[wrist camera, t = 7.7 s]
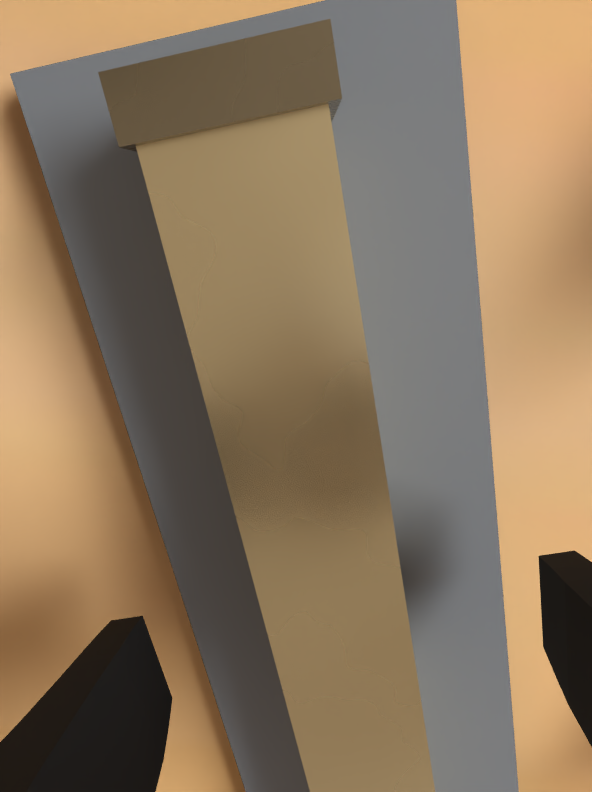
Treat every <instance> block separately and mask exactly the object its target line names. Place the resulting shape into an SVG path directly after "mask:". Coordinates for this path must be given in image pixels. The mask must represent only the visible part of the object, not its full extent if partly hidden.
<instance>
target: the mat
mask: <svg viewBox="0 0 592 792" xmlns="http://www.w3.org/2000/svg"><path fill="white" fill-rule="evenodd" d="M327 19H331V26H332V33H333V39H334V46H335V53H336V60H337V66H338V73H339V80H340V87H341V94H342V100H341V102H340V105H339V107H338V109H337V111H336V114H335V116H334V118H333V121H332V129H333V136H334V142H335V148H336V155H337V161H338V168H339V174H340V181H341V187H342V194H343V200H344V206H345V213H346V219H347V226H348V232H349V239H350V245H351V252H352V258H353V264H354V271H355V277H356V284H357V290H358V297H359V303H360V310H361V316H362V322H363V329H364V335H365V342H366V348H367V355H368V361H369V368H370V374H371V380H372V387H373V393H374V400H375V406H376V413H377V419H378V426H379V432H380V438H381V445H382V451H383V458H384V464H385V471H386V477H387V484H388V490H389V497H390V503H391V509H392V516H393V522H394V529H395V535H396V542H397V548H398V555H399V561H400V567H401V574H402V580H403V587H404V593H405V600H406V606H407V613H408V619H409V625H410V632H411V638H412V645H413V651H414V658H415V664H416V671H417V677H418V683H419V690H420V696H421V703H422V709H423V716H424V722H425V729H426V735H427V741H428V748H429V754H430V761H431V767H432V774H433V780H434V787H435V792H519V791H518V778H517V766H516V753H515V740H514V728H513V715H512V702H511V690H510V677H509V664H508V651H507V639H506V626H505V613H504V601H503V588H502V575H501V563H500V550H499V537H498V525H497V512H496V499H495V487H494V474H493V461H492V449H491V436H490V423H489V411H488V398H487V385H486V373H485V360H484V347H483V335H482V322H481V309H480V297H479V284H478V271H477V259H476V246H475V233H474V221H473V208H472V195H471V183H470V170H469V157H468V145H467V132H466V119H465V107H464V94H463V81H462V69H461V56H460V43H459V31H458V18H457V5H456V0H325V1H321V2H316V3H312V4H308V5H304V6H299V7H295V8H291V9H286V10H282V11H278V12H273V13H269V14H265V15H261V16H256V17H252V18H248V19H243V20H239V21H235V22H231V23H226V24H222V25H218V26H213V27H209V28H205V29H201V30H196V31H192V32H188V33H183V34H179V35H175V36H170V37H166V38H162V39H158V40H153V41H149V42H145V43H140V44H136V45H132V46H128V47H123V48H119V49H115V50H110V51H106V52H102V53H98V54H93V55H89V56H85V57H80V58H76V59H72V60H67V61H63V62H59V63H55V64H50V65H46V66H42V67H37V68H33V69H29V70H25V71H20V72H16V73H12V74H10V75H11V78H12V81H13V84H14V87H15V90H16V93H17V96H18V99H19V103H20V106H21V109H22V112H23V115H24V118H25V121H26V124H27V127H28V130H29V133H30V136H31V139H32V142H33V145H34V148H35V151H36V154H37V157H38V160H39V163H40V166H41V170H42V173H43V176H44V179H45V182H46V185H47V188H48V191H49V194H50V197H51V200H52V203H53V206H54V209H55V212H56V215H57V218H58V221H59V224H60V227H61V230H62V233H63V237H64V240H65V243H66V246H67V249H68V252H69V255H70V258H71V261H72V264H73V267H74V270H75V273H76V276H77V279H78V282H79V285H80V288H81V291H82V294H83V297H84V300H85V303H86V307H87V310H88V313H89V316H90V319H91V322H92V325H93V328H94V331H95V334H96V337H97V340H98V343H99V346H100V349H101V352H102V355H103V358H104V361H105V364H106V367H107V370H108V374H109V377H110V380H111V383H112V386H113V389H114V392H115V395H116V398H117V401H118V404H119V407H120V410H121V413H122V416H123V419H124V422H125V425H126V428H127V431H128V434H129V437H130V441H131V444H132V447H133V450H134V453H135V456H136V459H137V462H138V465H139V468H140V471H141V474H142V477H143V480H144V483H145V486H146V489H147V492H148V495H149V498H150V501H151V504H152V508H153V511H154V514H155V517H156V520H157V523H158V526H159V529H160V532H161V535H162V538H163V541H164V544H165V547H166V550H167V553H168V556H169V559H170V562H171V565H172V568H173V571H174V574H175V578H176V581H177V584H178V587H179V590H180V593H181V596H182V599H183V602H184V605H185V608H186V611H187V614H188V617H189V620H190V623H191V626H192V629H193V632H194V635H195V638H196V641H197V645H198V648H199V651H200V654H201V657H202V660H203V663H204V666H205V669H206V672H207V675H208V678H209V681H210V684H211V687H212V690H213V693H214V696H215V699H216V702H217V705H218V708H219V712H220V715H221V718H222V721H223V724H224V727H225V730H226V733H227V736H228V739H229V742H230V745H231V748H232V751H233V754H234V757H235V760H236V763H237V766H238V769H239V772H240V775H241V779H242V782H243V785H244V788H245V791H246V792H310V790H309V786H308V783H307V779H306V775H305V771H304V768H303V764H302V760H301V757H300V753H299V749H298V745H297V742H296V738H295V734H294V731H293V727H292V723H291V720H290V716H289V712H288V708H287V705H286V701H285V697H284V694H283V690H282V686H281V682H280V679H279V675H278V671H277V668H276V664H275V660H274V657H273V653H272V649H271V645H270V642H269V638H268V634H267V631H266V627H265V623H264V619H263V616H262V612H261V608H260V605H259V601H258V597H257V594H256V590H255V586H254V582H253V579H252V575H251V571H250V568H249V564H248V560H247V556H246V553H245V549H244V545H243V542H242V538H241V534H240V531H239V527H238V523H237V519H236V516H235V512H234V508H233V505H232V501H231V497H230V493H229V490H228V486H227V482H226V479H225V475H224V471H223V468H222V464H221V460H220V456H219V453H218V449H217V445H216V442H215V438H214V434H213V430H212V427H211V423H210V419H209V416H208V412H207V408H206V404H205V401H204V397H203V393H202V390H201V386H200V382H199V379H198V375H197V371H196V367H195V364H194V360H193V356H192V353H191V349H190V345H189V341H188V338H187V334H186V330H185V327H184V323H183V319H182V316H181V312H180V308H179V304H178V301H177V297H176V293H175V290H174V286H173V282H172V278H171V275H170V271H169V267H168V264H167V260H166V256H165V253H164V249H163V245H162V241H161V238H160V234H159V230H158V227H157V223H156V219H155V215H154V212H153V208H152V204H151V201H150V197H149V193H148V190H147V186H146V182H145V178H144V175H143V171H142V167H141V164H140V160H139V156H138V152H135V151H131V150H127V149H124V148H120V147H119V146H118V142H117V138H116V135H115V131H114V128H113V124H112V121H111V117H110V113H109V110H108V106H107V103H106V99H105V95H104V92H103V88H102V85H101V81H100V78H99V74H98V72H101V71H105V70H110V69H114V68H118V67H123V66H127V65H131V64H136V63H140V62H144V61H149V60H153V59H157V58H162V57H166V56H170V55H175V54H179V53H183V52H188V51H192V50H196V49H201V48H205V47H209V46H214V45H218V44H222V43H227V42H231V41H235V40H240V39H244V38H249V37H253V36H257V35H262V34H266V33H270V32H275V31H279V30H283V29H288V28H292V27H296V26H301V25H305V24H309V23H314V22H318V21H322V20H327Z"/></svg>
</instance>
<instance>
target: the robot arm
mask: <svg viewBox="0 0 592 792" xmlns="http://www.w3.org/2000/svg"><path fill="white" fill-rule="evenodd" d="M539 571H540V590H541V610H542V629H543V647H544V649H545V652H546V654H547V656H548V659H549V661H550V664H551V666H552V668H553V671H554V673H555V675H556V678H557V680H558V682H559V685H560V687H561V689H562V691H563V694H564V696H565V698H566V700H567V703H568V705H569V707H570V709H571V710H572V712H573V714H574V716H575V718H576V720H577V721H578V723H579V725H580V727H581V728H582V730H583V732H584V734H585V736H586V737H587V739H588V741H589V743H590V744H591V746H592V562H590V561H589V560H588V559H586V558H585V557H583V556H582V555H580V554H579V553H577V552H576V551H569V552H562V553H555V554H549V555H542V556H539ZM171 704H172V696H171V693H170V690H169V688H168V685H167V682H166V679H165V677H164V674H163V671H162V668H161V666H160V663H159V660H158V657H157V655H156V652H155V649H154V646H153V643H152V641H151V638H150V635H149V632H148V630H147V627H146V624H145V621H144V619H143V616H139V617H132V618H125V619H119V620H112V621H110V622H109V623H108V624H107V625H106V627H105V628H104V629H103V630H102V631H101V632H100V633H99V634H98V635H97V636H96V637H95V638H94V639H93V641H92V642H91V643H90V644H89V645H88V646H87V647H86V648H85V650H84V651H83V652H82V653H81V654H80V655H79V656H78V658H77V659H76V660H75V661H74V662H73V663H72V664H71V665H70V667H69V668H68V669H67V670H66V671H65V672H64V673H63V675H62V676H61V677H60V678H59V679H58V680H57V681H56V682H55V683H54V685H53V686H52V687H51V688H50V689H49V690H48V691H47V692H46V693H45V695H44V696H43V697H42V698H41V699H40V700H39V701H38V702H37V703H36V705H35V706H34V707H33V708H32V709H31V710H30V711H29V712H28V714H27V715H26V716H25V717H24V718H23V719H22V720H21V721H20V722H19V723H18V724H17V725H16V726H15V728H14V729H13V730H12V731H11V732H10V733H9V734H8V735H7V736H6V737H5V738H4V739H3V740H2V741H1V742H0V792H155V791H156V787H157V783H158V779H159V775H160V771H161V767H162V763H163V759H164V753H165V747H166V740H167V734H168V727H169V719H170V712H171Z"/></svg>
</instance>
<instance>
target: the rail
mask: <svg viewBox="0 0 592 792" xmlns="http://www.w3.org/2000/svg"><path fill="white" fill-rule="evenodd" d="M98 74H99V78H100V81H101V85H102V88H103V92H104V95H105V99H106V103H107V106H108V110H109V113H110V117H111V121H112V124H113V128H114V131H115V135H116V138H117V142H118V146H119V147H120V148H124V149H127V150H131V151H135V152H138V156H139V160H140V164H141V167H142V171H143V175H144V178H145V182H146V186H147V190H148V193H149V197H150V201H151V204H152V208H153V212H154V215H155V219H156V223H157V227H158V230H159V234H160V238H161V241H162V245H163V249H164V253H165V256H166V260H167V264H168V267H169V271H170V275H171V278H172V282H173V286H174V290H175V293H176V297H177V301H178V304H179V308H180V312H181V316H182V319H183V323H184V327H185V330H186V334H187V338H188V341H189V345H190V349H191V353H192V356H193V360H194V364H195V367H196V371H197V375H198V379H199V382H200V386H201V390H202V393H203V397H204V401H205V404H206V408H207V412H208V416H209V419H210V423H211V427H212V430H213V434H214V438H215V442H216V445H217V449H218V453H219V456H220V460H221V464H222V468H223V471H224V475H225V479H226V482H227V486H228V490H229V493H230V497H231V501H232V505H233V508H234V512H235V516H236V519H237V523H238V527H239V531H240V534H241V538H242V542H243V545H244V549H245V553H246V556H247V560H248V564H249V568H250V571H251V575H252V579H253V582H254V586H255V590H256V594H257V597H258V601H259V605H260V608H261V612H262V616H263V619H264V623H265V627H266V631H267V634H268V638H269V642H270V645H271V649H272V653H273V657H274V660H275V664H276V668H277V671H278V675H279V679H280V682H281V686H282V690H283V694H284V697H285V701H286V705H287V708H288V712H289V716H290V720H291V723H292V727H293V731H294V734H295V738H296V742H297V745H298V749H299V753H300V757H301V760H302V764H303V768H304V771H305V775H306V779H307V783H308V786H309V790H310V792H435V787H434V780H433V774H432V767H431V761H430V754H429V748H428V741H427V735H426V729H425V722H424V716H423V709H422V703H421V696H420V690H419V683H418V677H417V671H416V664H415V658H414V651H413V645H412V638H411V632H410V625H409V619H408V613H407V606H406V600H405V593H404V587H403V580H402V574H401V567H400V561H399V555H398V548H397V542H396V535H395V529H394V522H393V516H392V509H391V503H390V497H389V490H388V484H387V477H386V471H385V464H384V458H383V451H382V445H381V438H380V432H379V426H378V419H377V413H376V406H375V400H374V393H373V387H372V380H371V374H370V368H369V361H368V355H367V348H366V342H365V335H364V329H363V322H362V316H361V310H360V303H359V297H358V290H357V284H356V277H355V271H354V264H353V258H352V252H351V245H350V239H349V232H348V226H347V219H346V213H345V206H344V200H343V194H342V187H341V181H340V174H339V168H338V161H337V155H336V148H335V142H334V136H333V129H332V121H333V118H334V116H335V114H336V111H337V109H338V107H339V105H340V102H341V100H342V94H341V87H340V80H339V73H338V66H337V60H336V53H335V46H334V39H333V33H332V26H331V19H327V20H322V21H318V22H314V23H309V24H305V25H301V26H296V27H292V28H288V29H283V30H279V31H275V32H270V33H266V34H262V35H257V36H253V37H249V38H244V39H240V40H235V41H231V42H227V43H222V44H218V45H214V46H209V47H205V48H201V49H196V50H192V51H188V52H183V53H179V54H175V55H170V56H166V57H162V58H157V59H153V60H149V61H144V62H140V63H136V64H131V65H127V66H123V67H118V68H114V69H110V70H105V71H101V72H98Z"/></svg>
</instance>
